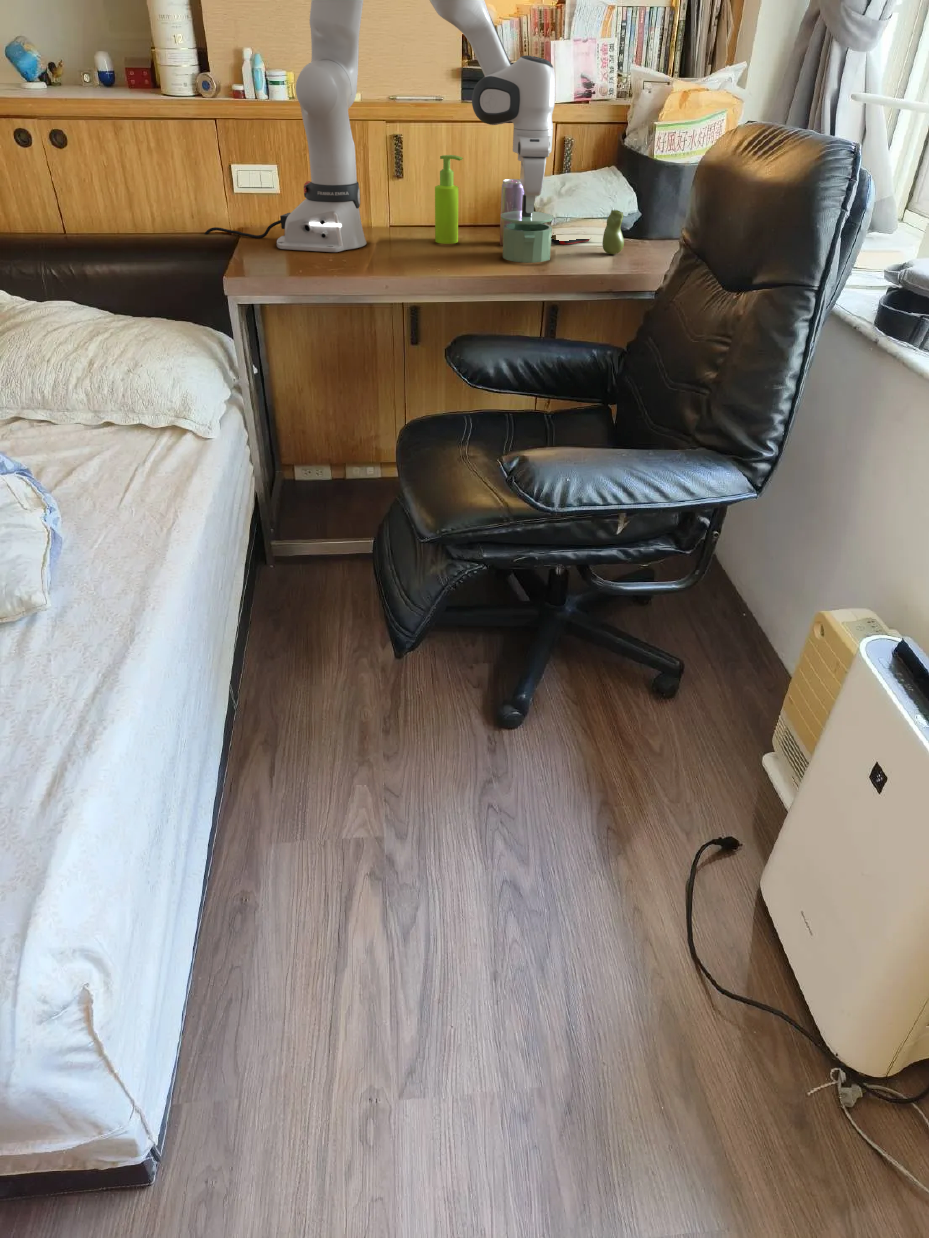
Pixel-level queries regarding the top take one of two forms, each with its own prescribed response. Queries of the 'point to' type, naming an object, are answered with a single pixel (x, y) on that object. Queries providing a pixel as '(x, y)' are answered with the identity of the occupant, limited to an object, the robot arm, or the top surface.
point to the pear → (613, 233)
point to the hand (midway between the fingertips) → (528, 211)
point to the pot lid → (526, 216)
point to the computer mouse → (569, 241)
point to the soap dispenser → (446, 204)
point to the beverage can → (510, 200)
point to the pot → (526, 242)
